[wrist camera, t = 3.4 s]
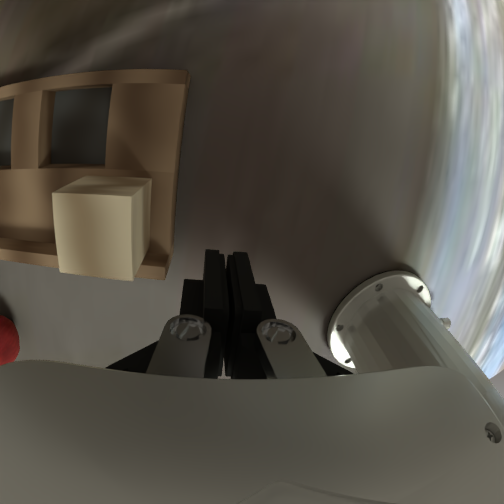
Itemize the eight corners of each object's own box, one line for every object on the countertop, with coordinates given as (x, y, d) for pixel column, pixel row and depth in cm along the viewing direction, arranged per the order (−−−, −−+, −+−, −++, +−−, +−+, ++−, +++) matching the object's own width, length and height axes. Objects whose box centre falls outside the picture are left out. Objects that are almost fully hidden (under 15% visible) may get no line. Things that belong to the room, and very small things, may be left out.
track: (190, 76, 18) (181, 61, 13) (173, 252, 24) (162, 287, 19) (-34, 101, 14) (-70, 105, 9) (-30, 232, 20) (-60, 254, 15)
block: (151, 178, 19) (131, 196, 14) (149, 246, 21) (132, 281, 16) (86, 175, 18) (52, 192, 13) (88, 240, 20) (60, 272, 15)
